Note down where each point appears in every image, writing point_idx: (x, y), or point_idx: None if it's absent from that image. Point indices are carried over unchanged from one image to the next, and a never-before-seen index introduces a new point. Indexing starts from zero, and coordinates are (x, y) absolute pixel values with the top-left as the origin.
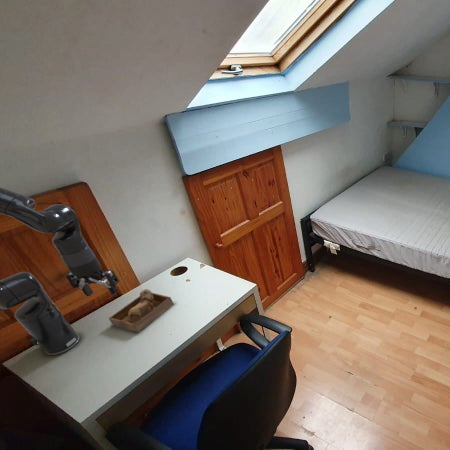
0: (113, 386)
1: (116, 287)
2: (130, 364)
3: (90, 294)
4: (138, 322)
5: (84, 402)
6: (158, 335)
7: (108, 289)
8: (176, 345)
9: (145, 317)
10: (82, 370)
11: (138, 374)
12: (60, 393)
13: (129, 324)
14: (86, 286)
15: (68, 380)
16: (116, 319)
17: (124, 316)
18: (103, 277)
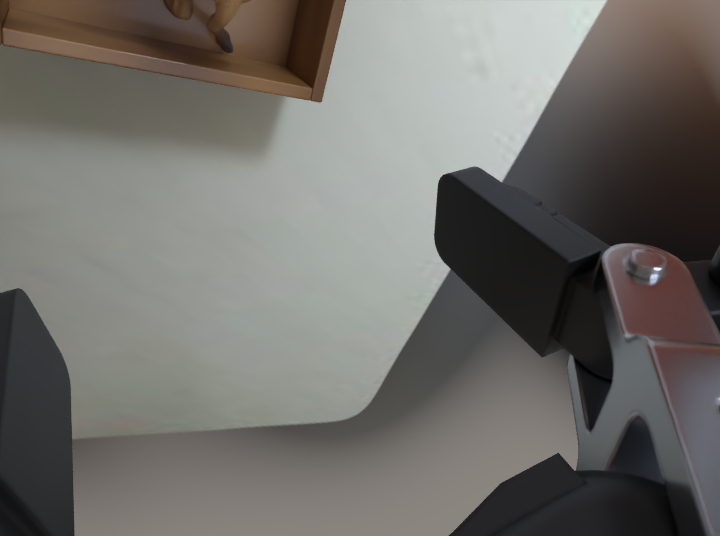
0: (379, 337)
1: (568, 223)
2: (382, 259)
3: (52, 350)
4: (329, 68)
5: (325, 396)
6: (419, 85)
7: (518, 332)
8: (525, 137)
9: (343, 1)
10: (185, 336)
11: (437, 282)
12: (202, 414)
13: (267, 91)
14: (11, 524)
15: (172, 380)
16: (99, 52)
17: None
18: (692, 471)
